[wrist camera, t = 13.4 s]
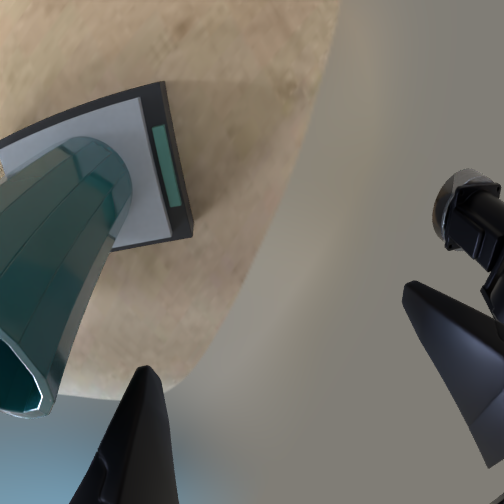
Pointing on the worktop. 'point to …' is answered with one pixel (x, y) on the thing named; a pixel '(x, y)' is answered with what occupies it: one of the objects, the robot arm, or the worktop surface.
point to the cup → (53, 261)
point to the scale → (124, 158)
